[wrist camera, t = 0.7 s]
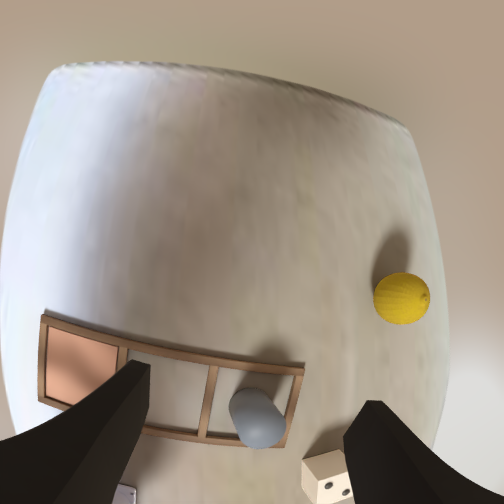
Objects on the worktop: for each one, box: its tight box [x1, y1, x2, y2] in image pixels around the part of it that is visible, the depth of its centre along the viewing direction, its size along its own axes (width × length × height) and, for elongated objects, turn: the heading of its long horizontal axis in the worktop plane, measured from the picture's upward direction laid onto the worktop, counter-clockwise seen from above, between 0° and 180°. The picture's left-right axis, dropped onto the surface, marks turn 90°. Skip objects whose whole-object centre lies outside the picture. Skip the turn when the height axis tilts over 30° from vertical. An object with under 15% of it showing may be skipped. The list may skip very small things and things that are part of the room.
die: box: [301, 449, 353, 504], centre depth 27 cm, size 5×5×5 cm
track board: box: [38, 314, 305, 448], centre depth 26 cm, size 10×28×1 cm, turn 79°
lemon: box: [373, 272, 430, 324], centre depth 29 cm, size 6×6×8 cm
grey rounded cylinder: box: [229, 388, 287, 449], centre depth 26 cm, size 4×4×6 cm
